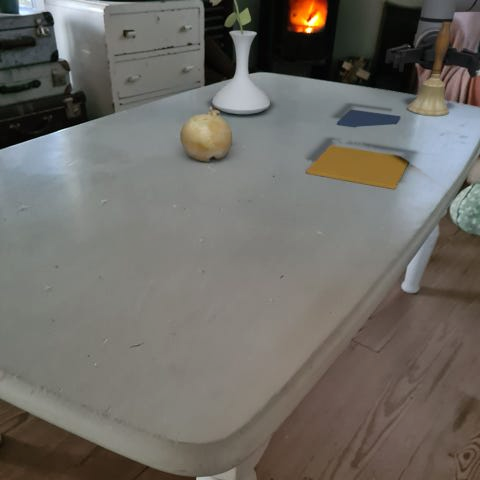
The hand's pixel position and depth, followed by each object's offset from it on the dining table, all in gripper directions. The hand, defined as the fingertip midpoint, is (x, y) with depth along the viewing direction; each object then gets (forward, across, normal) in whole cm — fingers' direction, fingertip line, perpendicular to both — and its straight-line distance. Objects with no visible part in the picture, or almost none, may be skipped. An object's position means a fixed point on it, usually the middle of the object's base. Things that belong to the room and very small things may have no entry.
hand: (438, 66), depth 101 cm
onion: (+40, +35, -9) cm, 54 cm away
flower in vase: (+14, +37, -9) cm, 40 cm away
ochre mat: (+37, +12, -8) cm, 40 cm away
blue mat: (+12, +11, -8) cm, 18 cm away
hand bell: (-1, 0, -9) cm, 9 cm away
